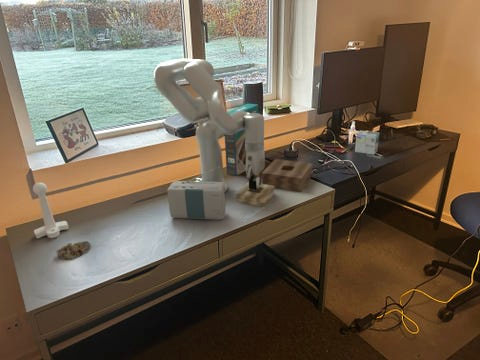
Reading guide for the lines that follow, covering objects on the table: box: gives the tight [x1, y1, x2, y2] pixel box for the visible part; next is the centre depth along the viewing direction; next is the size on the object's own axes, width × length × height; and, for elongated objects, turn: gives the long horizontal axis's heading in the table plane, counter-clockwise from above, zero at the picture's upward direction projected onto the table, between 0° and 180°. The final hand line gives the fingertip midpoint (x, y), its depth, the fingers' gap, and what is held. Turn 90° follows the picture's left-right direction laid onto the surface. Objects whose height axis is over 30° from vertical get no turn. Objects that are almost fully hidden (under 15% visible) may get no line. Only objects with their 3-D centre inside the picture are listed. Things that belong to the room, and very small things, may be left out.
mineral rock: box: [55, 240, 92, 261], centre depth 126 cm, size 11×4×8 cm
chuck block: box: [261, 158, 313, 193], centre depth 171 cm, size 18×18×6 cm
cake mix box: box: [224, 103, 259, 177], centre depth 184 cm, size 22×6×30 cm, turn 148°
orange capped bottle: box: [250, 172, 260, 193], centre depth 155 cm, size 4×4×11 cm
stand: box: [236, 181, 275, 207], centre depth 157 cm, size 12×12×4 cm
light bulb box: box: [354, 130, 380, 155], centre depth 202 cm, size 11×7×11 cm, turn 58°
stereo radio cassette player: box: [167, 167, 226, 221], centre depth 142 cm, size 21×8×20 cm, turn 82°
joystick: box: [32, 181, 70, 239], centre depth 133 cm, size 11×8×20 cm
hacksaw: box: [312, 157, 346, 174], centre depth 188 cm, size 24×10×2 cm, turn 121°
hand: (254, 186), depth 156 cm, fingers closed on orange capped bottle, 4 cm apart
